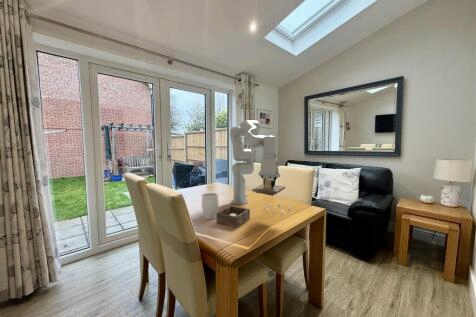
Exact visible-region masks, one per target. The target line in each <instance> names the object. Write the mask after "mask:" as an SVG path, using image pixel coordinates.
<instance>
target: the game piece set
mask: <svg viewBox="0 0 476 317" xmlns="http://www.w3.org/2000/svg"><path fill="white" fill-rule="evenodd" d="M277 203H278V206H279V207H281V204H282V202H280V201H279V202H277ZM267 204H268V202H266V203H265V205H264V207H263V209H266V208H268V207H269V206H268V205H267ZM270 206H271V207H273V203H272V202H270ZM286 207H287V208H288V210H287V211H286V213H288V212H289V213H290V210H291V208H292V206H291V205H289V206H288V205H287V206H286ZM289 209H290V210H289ZM265 212H266V213H269V210H268V209H266V210H265ZM280 212H281V213H282V214H281V215H284V210H280ZM273 213H274V214H275V213H276V212H275V210H273V211H272V214H273Z"/></svg>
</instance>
